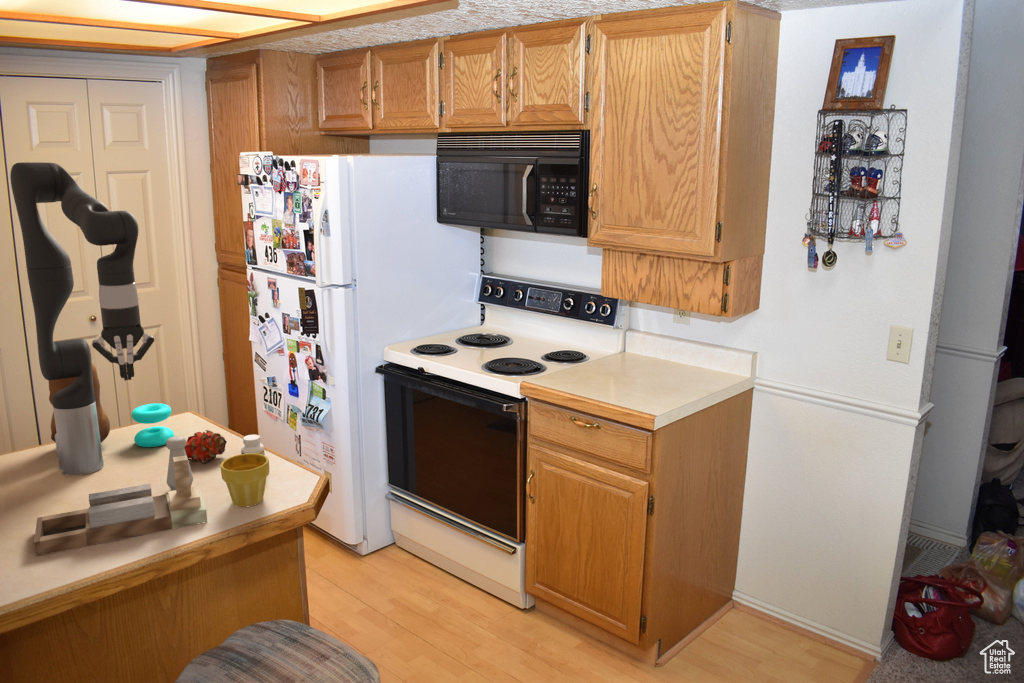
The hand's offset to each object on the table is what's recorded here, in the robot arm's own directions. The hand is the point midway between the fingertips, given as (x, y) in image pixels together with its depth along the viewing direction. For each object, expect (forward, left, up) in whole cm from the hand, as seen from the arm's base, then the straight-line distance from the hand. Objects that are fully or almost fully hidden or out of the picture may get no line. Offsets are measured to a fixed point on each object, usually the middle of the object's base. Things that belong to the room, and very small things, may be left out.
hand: (127, 379), depth 176 cm
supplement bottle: (+16, +20, -29) cm, 38 cm away
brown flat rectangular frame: (+9, -13, -28) cm, 32 cm away
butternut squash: (-38, +16, -29) cm, 50 cm away
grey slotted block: (+9, -13, -25) cm, 30 cm away
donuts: (-24, +27, -29) cm, 46 cm away
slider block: (+17, -4, -25) cm, 31 cm away
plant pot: (+25, +7, -29) cm, 38 cm away
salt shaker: (+6, +6, -29) cm, 30 cm away
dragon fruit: (-2, +22, -29) cm, 36 cm away
